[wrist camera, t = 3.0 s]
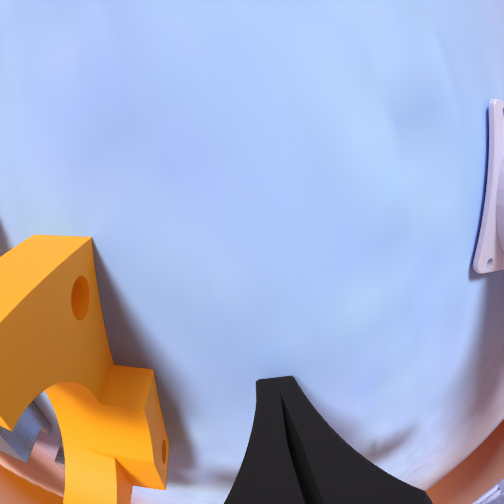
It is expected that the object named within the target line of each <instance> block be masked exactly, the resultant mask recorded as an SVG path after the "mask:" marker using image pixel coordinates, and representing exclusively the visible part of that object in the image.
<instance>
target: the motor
mask: <svg viewBox="0 0 504 504" xmlns="http://www.w3.org/2000/svg"><path fill="white" fill-rule="evenodd" d="M51 429H52V427H51V426H50V424H49V423H48V422H47V420H46V419H45V418H44V416H43V415H42V414H41V412H40V411H39V409H38V408H37V406H36V405H35V404H34V402H33V401H32V402H31V403H30V404H29V405H28V406H27V408H26V409H25V411H24V412H23V413H22V415H21V416H20V418H19V420H18V421H17V423H16V425H15V427H14V429H13V431H10V430H8V429H6V428H4V427H2V426H0V451H2V452H4V453H6V454H8V455H10V456H12V457H14V458H16V459H18V460H21V461H23V462H25V463H27V462H28V459H29V456H30V454H31V451H32V449H33V446H34V444H35V441H36V439H37V436H38V434H39V431H41V432H44V433H47V434H50V431H51ZM55 463H56V464H57V465H59V466H60V467H61V468H62V469H65V455H64V447H63V441H61V444H60V447H59V450H58V453H57V456H56V459H55Z"/></svg>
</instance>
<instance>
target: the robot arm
mask: <svg viewBox="0 0 504 504" xmlns="http://www.w3.org/2000/svg"><path fill="white" fill-rule="evenodd" d="M488 108H489V161H488V176H487V187H486V196H485V204H484V211H483V217H482V223H481V229H480V234H479V239H478V244H477V249H476V253H475V257H474V261H473V269H474V270H475V271H476V272H477V273H479V274H483V273H489V272H494V271H500V270H504V102H502V101H500V100H499V99H491V100H490V101H489V107H488ZM224 504H433V503H432V501H431V500H430V498H429V497H428V495H427V494H426V493H425V491H423V490H421V489H418V488H416V487H414V486H411V485H409V484H407V483H405V482H403V481H401V480H399V479H397V478H395V477H394V476H392V475H390V474H388V473H387V472H385V471H383V470H382V469H380V468H379V467H377V466H376V465H374V464H373V463H371V462H370V461H368V460H367V459H366V458H364V457H363V456H362V455H361V454H359V453H358V452H357V451H356V450H354V449H353V448H352V447H351V446H350V445H349V444H347V443H346V442H345V441H344V440H343V439H342V438H341V437H340V436H339V435H338V434H337V433H336V432H335V431H334V430H333V429H332V428H331V427H330V426H329V425H328V423H327V422H326V421H325V420H324V419H323V418H322V416H321V415H320V414H319V413H318V412H317V410H316V409H315V408H314V407H313V405H312V404H311V403H310V401H309V400H308V399H307V397H306V396H305V394H304V393H303V391H302V390H301V388H300V387H299V385H298V384H297V382H296V380H295V378H294V377H293V376H285V377H277V378H268V379H259V380H258V381H256V411H255V416H254V422H253V427H252V432H251V435H250V439H249V443H248V447H247V450H246V453H245V456H244V459H243V462H242V465H241V467H240V470H239V473H238V475H237V477H236V480H235V482H234V484H233V487H232V489H231V491H230V493H229V495H228V497H227V499H226V501H225V502H224ZM472 504H504V479H502V480H501V481H500V482H499V483H497V484H496V485H495V486H494V487H492V488H491V489H490V490H488V491H487V492H486V493H485V494H483V495H482V496H481V497H480V498H479V499H477V500H476V501H475V502H473V503H472Z"/></svg>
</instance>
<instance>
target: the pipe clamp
mask: <svg viewBox="0 0 504 504" xmlns="http://www.w3.org/2000/svg"><path fill="white" fill-rule="evenodd" d="M44 390H45V392H46V394H47V395H48V397H49V399H50V401H51V403H52V406H53V408H54V411H55V413H56V416H57V420H58V423H59V427H60V431H61V435H62V441H63V447H64V455H65V493H64V501H63V504H130V502H131V494H132V486H133V485H134V486H140V487H146V488H153V489H160V490H166V481H167V468H168V457H169V446H170V445H169V441H168V437H167V433H166V429H165V425H164V420H163V416H162V411H161V407H160V402H159V397H158V392H157V387H156V381H155V376H154V370H153V369H145V368H137V367H129V366H122V365H115V364H114V362H113V359H112V355H111V351H110V347H109V342H108V338H107V334H106V329H105V324H104V319H103V314H102V309H101V303H100V298H99V292H98V285H97V278H96V271H95V263H94V255H93V245H92V237H78V236H54V235H33V236H31V237H30V238H28V239H27V240H25V241H23V242H22V243H20V244H19V245H17V246H16V247H14V248H13V249H11V250H10V251H8V252H7V253H5V254H4V255H2V256H1V257H0V426H2V427H4V428H6V429H8V430H10V431H13V429H14V427H15V425H16V423H17V421H18V420H19V418H20V416H21V415H22V413H23V412H24V411H25V409H26V408H27V406H28V405H29V404H30V403H31V402H32V401H33V400H34V399H35V398H36V397H37V396H38V395H39V394H40V393H42V392H43V391H44Z"/></svg>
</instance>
